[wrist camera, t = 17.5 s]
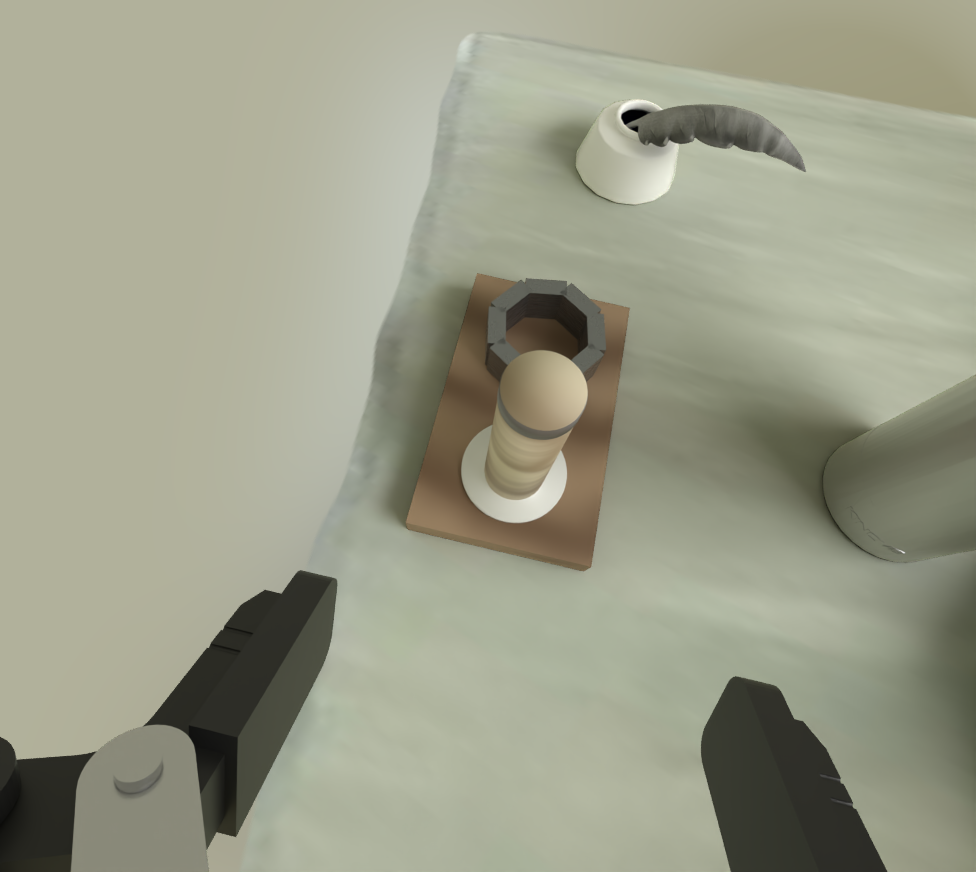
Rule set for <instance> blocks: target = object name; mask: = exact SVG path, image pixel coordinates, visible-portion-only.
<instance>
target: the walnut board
mask: <svg viewBox="0 0 976 872" xmlns="http://www.w3.org/2000/svg"><path fill="white" fill-rule="evenodd" d="M516 283H517V282H513V281H509V280H504V279H500V278H496V277H491V276H487V275H483V274H478V273H477V276H476V279H475V283H474V286H473V290H472V293H471V296H470V300H469V303H468V307H467V310H466V314H465V317H464V321H463V324H462V328H461V331H460V335H459V338H458V342H457V345H456V349H455V352H454V356H453V359H452V363H451V366H450V370H449V373H448V377H447V380H446V384H445V387H444V391H443V394H442V398H441V401H440V405H439V408H438V411H437V415H436V418H435V422H434V425H433V429H432V432H431V436H430V439H429V443H428V446H427V450H426V453H425V457H424V460H423V464H422V467H421V471H420V474H419V478H418V481H417V485H416V488H415V492H414V495H413V499H412V502H411V506H410V509H409V513H408V516H407V520H406V525H407V529H408V530H412V531H417V532H421V533H425V534H429V535H433V536H438V537H442V538H446V539H450V540H454V541H459V542H463V543H467V544H471V545H475V546H480V547H484V548H488V549H492V550H496V551H501V552H505V553H509V554H513V555H517V556H521V557H526V558H530V559H534V560H538V561H542V562H547V563H551V564H555V565H559V566H563V567H568V568H572V569H576V570H580V571H585V570H587V569H588V568H590V567H591V564H592V558H593V551H594V544H595V538H596V531H597V524H598V517H599V511H600V504H601V497H602V491H603V484H604V477H605V470H606V464H607V457H608V450H609V444H610V437H611V430H612V423H613V417H614V410H615V403H616V397H617V390H618V383H619V377H620V370H621V363H622V356H623V350H624V343H625V336H626V330H627V323H628V316H629V309H630V308H627V307H623V306H618V305H614V304H610V303H605V302H601V301H597V300H592V299H590V300H591V301H593V302H594V303H595V304H596V305H597V306H598V307H599V308H601V309H602V310H601V312H600V314H604V323H605V339H606V351H605V353H604V356H603V358H602V360H601V362H600V364H599V366H598V368H597V370H596V372H595V373H594V375H593V377H591V378H590V379H589V380H588V381H587V382H586V384H587V390H588V398H587V404H586V407H585V409H584V411H583V413H582V415H581V417H580V418H579V420H578V422H577V423H576V425H575V426H574V427H573V429H572V431H571V433H570V434H569V436H568V438H567V440H566V442H565V443H564V445H563V447H562V449H561V451H562V453H563V456H564V458H565V462H566V467H567V480H566V486H565V489H564V492H563V494H562V496H561V498H560V499H559V501H558V502H557V504H556V505H555V506H554V507H553V508H552V509H551V510H550V511H549V512H548V513H547V514H545V515H543V516H542V517H540V518H538V519H536V520H533V521H530V522H525V523H506V522H502V521H498V520H496V519H493V518H491V517H489V516H487V515H486V514H484V513H483V512H481V511H480V510H479V509H478V508H477V507H476V506H475V505H474V504H473V503H472V501H471V500H470V498H469V497H468V495H467V493H466V491H465V489H464V486H463V482H462V476H461V466H462V460H463V456H464V453H465V450H466V448H467V446H468V445H469V443H470V442H471V441H472V439H473V438H474V437H475V436H476V435H477V434H478V433H479V432H481V431H482V430H483V429H485V428H487V427H489V426H491V425H493V420H494V415H495V410H496V404H497V395H498V388H499V383H500V382H499V381H498V380H497V379H496V378H495V377H494V376H493V375H492V374H491V373H490V372H489V371H488V370H487V365H485V345H486V326H487V318H488V309H489V306H490V307H491V302H492V301H493V300H495V299H496V298H497V297H499V296H500V295H501V294H503V293H504V292H505V291H507V290H508V289H509V288H511V287H512V286H513V285H515V284H516ZM506 341H507V342H508V343H509V344H510V345H511V346H512V347H513V348H514V349H515V350H516V351H517V352H518V353H520V354H521V355H522V354H524V353H527V352H530V351H537V350H545V351H552V352H556V353H558V354H561V355H563V356H565V357H567V358H568V359H570V360H572V359H573V358H574V357H575V356H576V355H578V340H577V339H576V338H575V337H574V336H573V335H572V334H571V333H570V332H569V331H567V330H566V329H565V328H564V327H563V326H562V325H561V324H560V323H559V322H558V321H556V320H555V319H541V318H526V317H524V318H523V319H522V320H521V321H519V322H518V323H517V324H515V325H514V326H513V327H512V328H510V329H509V330H508V331H506Z"/></svg>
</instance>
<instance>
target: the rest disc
mask: <svg viewBox="0 0 976 872" xmlns="http://www.w3.org/2000/svg"><path fill="white" fill-rule="evenodd" d="M491 430H492V425H491V426H489V427H487V428H485V429H483V430H482V431H481V432H479V433H478V434H477V435H476V436H475V437H474V438H473V439H472V441H471V442H470V443H469V445H468V446H467V448H466V450H465V453H464V456H463V460H462V466H461V476H462V482H463V486H464V489H465V491H466V493H467V495H468V497H469V498H470V500H471V501H472V503H473V504H474V505H475V506H476V507H477V508H478V509H479V510H480V511H481V512H483V513H484V514H486V515H487V516H489V517H491V518H493V519H496V520H498V521H502V522H506V523H525V522H530V521H533V520H536V519H538V518H540V517H542V516H543V515H545V514H547V513H548V512H549V511H550V510H551V509H552V508H553V507H554V506H555V505H556V504H557V502H558V501H559V499H560V498H561V496H562V494H563V492H564V489H565V486H566V480H567V467H566V462H565V458H564V456H563V453H562V451H560V453H559V454H558V456H557V458H556V460H555V462H554V463H553V465H552V467H551V469H550V471H549V473H548V474H547V476H546V478H545V480H544V482H543V483H542V485H541V487H540V488H539V490H538V491H537V492H536V493H535V494H533V495H532V496H530V497H528V498H526V499H522V500H510V499H506V498H503V497H501V496H499V495H498V494H496V493H495V492H494V491H493V490H492V489H491V488H490V486H489V485H488V483H487V481H486V478H485V473H484V468H485V462H486V456H487V451H488V446H489V441H490V436H491Z"/></svg>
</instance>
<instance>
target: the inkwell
mask: <svg viewBox="0 0 976 872" xmlns="http://www.w3.org/2000/svg"><path fill="white" fill-rule="evenodd" d="M694 138H697V139H698V140H699V141H701V142H703V143H705V144H707V145H710V146H713V147H718V148H725V149H726V148H731V147H732V146H733V145H735V146H737V147H739V148H740V149H743V150H747V151H753V152H764V153H766V154H767V155H769V156H771V157H774V158H777V159H780V160H783V161H785V162H786V163H788V164H790V165H792V166H794V167H796V168H798V169H799V170H802V171H804V172H806V170H805V166H804V163H803V160H802V157H801V155H800V154H799V152H798V151H797V149H796V148H795V147H794V146H793V144H792V143H791V142H790V140H789V139H788V138H787V137H786V135H785V134H784V133H783V132H782V131H781V130H780V129H779V128H777V127H776V126H774V125H773V124H772V123H771V122H769V121H768V120H767V119H765V118H764V117H762V116H761V115H759V114H757V113H754V112H751V111H748V110H744V109H741V108H737V107H733V106H726V105H685V106H678V107H672V108H668V109H664V110H663V109H662V108H660V107H659V106H658V105H657V104H655V103H652V102H650V101H647V100H640V99H634V100H630V99H629V100H623V101H618V102H614V103H612V104H610V105H609V106H607V107H605V108H603V110H602V111H601V113H600V114H599V116H598V117H597V119H596V121H595V122H594V124H593V126H592V127H591V129H590V130H589V132H588V134H587V135H586V137H585V139H584V140H583V142H582V144H581V145H580V147H579V149H578V150H577V152H576V168H577V170H578V172H579V174H580V176H581V178H582V180H583V182H584V183H585V184H586V185H587V186H588V187H589V188H590V189H591V190H592V191H594V192H595V193H596V194H597V195H599V196H601V197H603V198H606V199H608V200H610V201H613V202H615V203H622V204H631V205H637V204H642V203H647V202H651V201H654V200H656V199H657V198H659V197H660V196H662V195H663V194H664V193H666V192H667V191H668V190H669V188H670V186H671V184H672V182H673V180H674V177H675V170H676V164H677V157H678V149H679V144H685V143H689V142H692V141H694Z"/></svg>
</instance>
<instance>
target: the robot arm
mask: <svg viewBox="0 0 976 872" xmlns="http://www.w3.org/2000/svg"><path fill="white" fill-rule="evenodd" d="M823 492H824V496H825V500H826V503H827V506H828V508H829V510H830V513H831V515H832V517H833V519H834V520H835V521H836V523H837V524H838V526H839V527H840V529H841V530H842V531H843V532H844V533H845V534H846V535H847V536H848V537H849V538H850V539H851V540H852V541H853V542H854V543H855V544H857V545H858V546H859V547H861V548H862V549H863V550H865V551H867V552H869V553H871V554H873V555H875V556H877V557H879V558H882V559H885V560H889V561H892V562H903V563H907V562H914V561H920V560H925V559H930V558H935V557H940V556H945V555H951V554H956V553H962V552H967V551H972V550H976V375H974V376H972V377H970V378H969V379H967V380H965V381H963V382H961V383H959V384H957V385H955V386H953V387H952V388H950V389H948V390H946V391H944V392H942V393H940V394H938V395H936V396H934V397H933V398H931V399H929V400H927V401H925V402H923V403H921V404H919V405H917V406H916V407H914V408H912V409H910V410H908V411H906V412H904V413H902V414H900V415H899V416H897V417H895V418H893V419H891V420H889V421H887V422H885V423H883V424H881V425H879V426H877V427H875V428H874V429H872V430H870V431H868V432H866V433H864V434H862V435H860V436H859V437H857V438H855V439H853V440H851V441H849V442H847V443H845V444H844V445H842V446H841V447H839V448H838V449H837V450H836V451H835V452H834V453H833V454H832V455H831V456H830V458H829V460H828V462H827V464H826V466H825V470H824V475H823ZM336 593H337V580H336V579H335V578H331V577H327V576H323V575H318V574H314V573H310V572H306V571H301V570H300V571H298V572H297V573H296V574H295V576H294V577H293V578H292V580H291V581H290V583H289V584H288V585H287V587H286V588H285V590H284V591H283V593H282V594H280V593H276V592H272V591H267V590H264V591H263V592H261V593H259V594H258V595H256V596H255V597H253V598H251V599H250V600H248V601H247V602H245V603H243V604H242V605H241V606H240V607H239V608H238V609H237V611H236V612H235V613H234V615H233V616H232V617H231V618H230V620H229V621H228V622H227V623H226V625H225V626H224V629H223V630H221V631H220V632H219V634H218V635H217V636H216V637H215V638H214V640H213V641H212V642H211V644H210V647H209V648H207V649H206V650H205V651H204V652H203V654H202V655H201V656H200V658H199V659H198V660H197V661H196V663H195V664H194V665H193V666H192V668H191V669H190V670H189V671H188V673H187V674H186V675H185V676H184V678H183V679H182V680H181V682H180V683H179V684H178V685H177V687H176V688H175V689H174V691H173V692H172V693H171V694H170V695H169V697H168V698H167V699H166V700H165V702H164V703H163V704H162V706H161V707H160V708H159V709H158V711H157V712H156V713H155V714H154V716H153V717H152V718H151V719H150V720H149V721H148V722H147V723H146V724H145V725H144V726H143V727H139V728H136V729H133V730H130V731H127V732H125V733H123V734H121V735H119V736H117V737H115V738H114V739H112V740H111V741H109V742H108V743H106V744H105V745H104V746H103V747H101V748H100V749H99V750H98V751H96V752H92V753H88V754H82V755H74V756H60V757H47V758H34V759H21V760H16V755H15V751H14V749H13V747H12V745H11V744H10V743H9V742H8V741H7V740H5V739H3V738H1V737H0V872H209V868H208V859H207V851H206V850H207V849H208V847H209V845H210V843H211V841H212V839H213V838H214V836H215V834H216V832H218V833H222V834H226V835H230V836H234V837H236V836H237V834H238V832H239V830H240V828H241V826H242V824H243V822H244V820H245V818H246V816H247V814H248V812H249V810H250V808H251V806H252V804H253V802H254V800H255V798H256V796H257V794H258V793H259V791H260V789H261V787H262V785H263V783H264V781H265V779H266V777H267V775H268V773H269V771H270V769H271V767H272V765H273V763H274V761H275V759H276V757H277V755H278V753H279V751H280V749H281V747H282V745H283V743H284V741H285V739H286V737H287V735H288V733H289V731H290V729H291V727H292V726H293V724H294V722H295V720H296V718H297V716H298V714H299V712H300V710H301V708H302V706H303V704H304V702H305V700H306V698H307V696H308V694H309V692H310V690H311V688H312V686H313V684H314V682H315V680H316V678H317V676H318V674H319V672H320V670H321V668H322V666H323V664H324V661H325V659H326V656H327V653H328V650H329V646H330V642H331V637H332V629H333V620H334V611H335V602H336ZM701 757H702V763H703V767H704V771H705V775H706V778H707V782H708V786H709V790H710V794H711V797H712V801H713V805H714V809H715V813H716V816H717V820H718V824H719V828H720V832H721V835H722V839H723V843H724V847H725V851H726V854H727V858H728V862H729V866H730V870H731V872H887V870H886V868H885V866H884V864H883V862H882V860H881V858H880V856H879V854H878V852H877V850H876V848H875V846H874V844H873V842H872V840H871V838H870V836H869V834H868V832H867V830H866V828H865V826H864V824H863V822H862V820H861V818H860V816H859V814H858V812H857V810H856V809H853V806H852V804H853V802H852V800H851V798H850V796H849V794H848V792H847V790H846V788H845V786H844V784H841V782H840V779H841V778H840V776H839V774H838V772H837V770H836V768H835V766H834V764H833V762H832V760H831V758H830V756H829V754H828V752H827V750H826V748H825V747H824V746H823V745H822V743H821V742H820V741H819V740H818V739H817V737H816V736H815V735H814V734H813V733H812V732H811V730H810V729H809V728H808V727H807V726H806V724H805V723H804V722H803V721H799V720H795V719H794V718H793V716H792V714H791V712H790V709H789V707H788V705H787V703H786V701H785V699H784V696H783V694H782V693H781V691H780V690H779V688H777V687H776V686H774V685H771V684H766V683H762V682H758V681H754V680H750V679H746V678H741V677H736V676H735V677H733V678H731V680H730V681H729V682H728V684H727V686H726V688H725V690H724V692H723V693H722V695H721V697H720V699H719V701H718V703H717V705H716V707H715V709H714V711H713V713H712V715H711V716H710V718H709V720H708V722H707V724H706V726H705V728H704V731H703V735H702V741H701Z"/></svg>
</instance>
